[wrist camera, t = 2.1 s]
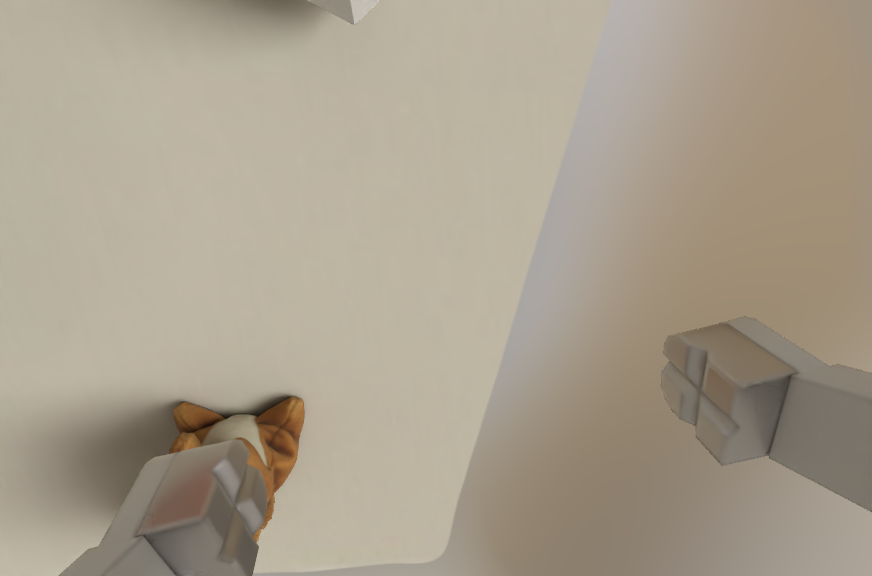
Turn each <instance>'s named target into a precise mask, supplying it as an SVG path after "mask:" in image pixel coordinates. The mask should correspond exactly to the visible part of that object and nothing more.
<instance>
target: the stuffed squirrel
mask: <svg viewBox="0 0 872 576" xmlns="http://www.w3.org/2000/svg"><path fill="white" fill-rule="evenodd" d="M173 416H174V420H175V423H176V426H177V429H178V431H179V432H180V435H179V436H178V437H177V438H176V439H175V441H174V442H173V444H172V446H171V448H170V452H169V454H172V453H177V452H181V451H183V450H188V449H192V448H197V447H202V446H206V445H211V444H216V443H220V442H225V441H230V440H234V439H237V440H242V441H243V443H244V444H245V446H246V447H247V449H248V451H249V452H250V454H249V458H248V461H247V464H249V465H251V466H253V467H255V468H257V469H259V470H260V472H261V474H262V476H263V478H264V481H265V485H266V489H267V511H266V516H265V521H264V523H263V525H262V526H261V527H260V528H259V530H258V531H257V532H256V533H255V535H254V536H253V538H254V540H255V541H256V542H257V541H258V539H259V538H258V537H259V535H260V533H261V529H264V528H265V527H266V525H267V523H268V521H269V520H270V519H272V513H273V511H274V510H273V507H274V503H275V500H274V493H275V492H276V491H277V490H278V489H279V488H280V487H281V486H282V484H283V483H284V482H285V480H286V479H287V477H288V475H289V474H290V472H291V470H292V469H293V467H294V465H295V462H296V460H297V453H298V445H299V437H300V433H301V430H302V427H303V423H304V402H303V400H302V399H301V398H297V397H290V398H288V399H286V400H284V401H282V402H281V403H279V404H277V405H276V406H274V407H272V408H271V409H269V410H267V411H266V412H264V413H263V414H261V415H260V416H259V417H257V416H254V415H249V414H246V415H242V414H239V415H234V416H231V417H229V418H228V419H225V418H224V417H222V416H221V415H219V414H218V413H215V412H213V411H210V410H208V409H205V408H203V407H200V406H197V405H194V404H191V403H188V402H183V403H181V404H179V405H178V406H177V407H176V408H175V409H174V411H173Z"/></svg>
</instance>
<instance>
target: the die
mask: <svg viewBox="0 0 872 576" xmlns="http://www.w3.org/2000/svg"><path fill="white" fill-rule="evenodd" d="M307 1H309V2H310V3H312V4H314V5H316V6H318V7H320V8H322V9H324V10H326V11H328V12H330V13H332V14H334V15H336V16H338V17H340V18H341V19H343V20H345V21H347V22H349V23H351V24H353V25H355V24H356V23H357V22H358V21H360V20H361V19H362V18H363V17H364V16H365V15H366V14H367V13H368V12H369V11H370V10H371V9H372V8H373V7H374V6H375V5H376V4H377V3H378V2H379V1H380V0H307Z"/></svg>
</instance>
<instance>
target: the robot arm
mask: <svg viewBox="0 0 872 576" xmlns="http://www.w3.org/2000/svg"><path fill="white" fill-rule="evenodd" d="M663 354H664V355H665V356H666V357H667V358H668V359H669V360H670V361H669V362H668V364H667V365H666V366H665V368H664V369H663V370H662V373H661V388H662V391H663V394H664V397H665V400H666V402H667V403H668V405H669V407H670V408H671V410H672V411H673V412H674V413H675V414H676V416H677V417H678V418H679V419H681V420H683V421H685V422H688V423H690V424H692V425H694V426H696V428H695V429H696V438H697V439H698V440H699V441H700V442H701V443H702V445H703V446H704V447H705V448H706V449H707V450H708V451H709V452H710V453H711V454H712V455H713V457H714V458H715V459H716V460H717V461H718V462H719V463H720V464H721V465H722V466H723V465H727V464H732V463H736V462H741V461H746V460H750V459H755V458H759V457H764V456H768V455H769V458H770V459H772V460H774V461H776V462H777V463H779V464H782V465H783V466H785V467H787V468H789V469H791V470H793V471H795V472H796V473H798V474H800V475H802V476H804V477H806V478H808V479H810V480H812V481H814V482H816V483H817V484H819V485H821V486H823V487H825V488H827V489H829V490H831V491H833V492H835V493H836V494H838V495H840V496H842V497H844V498H846V499H848V500H850V501H852V502H853V503H856V504H857V505H859V506H861V507H863V508H865V509H867V510H869V511H871V512H872V373H870V372H866V371H863V370H859V369H855V368H851V367H847V366H844V365H840V364H836V365H832V366H829V365H827V364H826V363H824V362H822V361H821V360H819V359H818V358H816V357H814V356H813V355H811V354H810V353H808V352H807V351H805V350H804V349H802V348H800V347H799V346H797V345H796V344H794V343H792V342H791V341H789V340H788V339H786V338H785V337H783V336H781V335H780V334H778V333H777V332H775V331H773V330H772V329H770V328H769V327H767V326H766V325H764V324H762V323H761V322H759V321H758V320H756V319H754V318H750V317H745V316H744V317H740V318H736V319H733V320H729V321H725V322H721V323H719V324H715V325H711V326H707V327H703V328H699V329H694V330H691V331H686V332H682V333H678V334H675V335H670V336H668V337H667V339H666V341H665V343H664V350H663ZM249 454H250V452H249V451H248V449H247V447H246V446H245V444H244V443H243V441H242V440H237V439H234V440H230V441H225V442H220V443H216V444H211V445H206V446H202V447H197V448H192V449H188V450H183V451H181V452H177V453H172V454H167V455H162V456H158V457H154V458H152V459H151V460H149V461H148V462H147V463H145V465H144V466H143V468H142V470H141V472H140V474H139V475H138V477H137V479H136V481H135V482H134V484H133V486H132V488H131V489H130V491H129V493H128V495H127V497H126V498H125V500H124V502H123V504H122V505H121V507H120V509H119V511H118V513H117V514H116V516H115V518H114V520H113V521H112V523H111V525H110V527H109V528H108V530H107V532H106V534H105V536H104V537H103V539H102V541H101V543H100V544H99V546H98V547H95V548H91V549H88V550H87V551H86V552H85V553H83V554H82V555H81V556H80V557H79V558H78V559H77V560H76V561H74V562H73V563H72V564H71V565H70V566H69V567H68V568H67V569H66V570H64V571H63V572H62V573H61V574H60V575H59V576H252V574H253V570H254V566H255V561H256V557H257V553H258V548H259V546H258V545H257V543H256V541H255V540H254V538H253V536H254V535H255V533H256V532H257V531H258V530H259V528H260V527H261V526H262V525H263V523H264V521H265V516H266V511H267V489H266V485H265V481H264V478H263V476H262V474H261V472H260V470H259V469H257V468H255V467H253V466H251V465H249V464H247V461H248V458H249Z"/></svg>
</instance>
